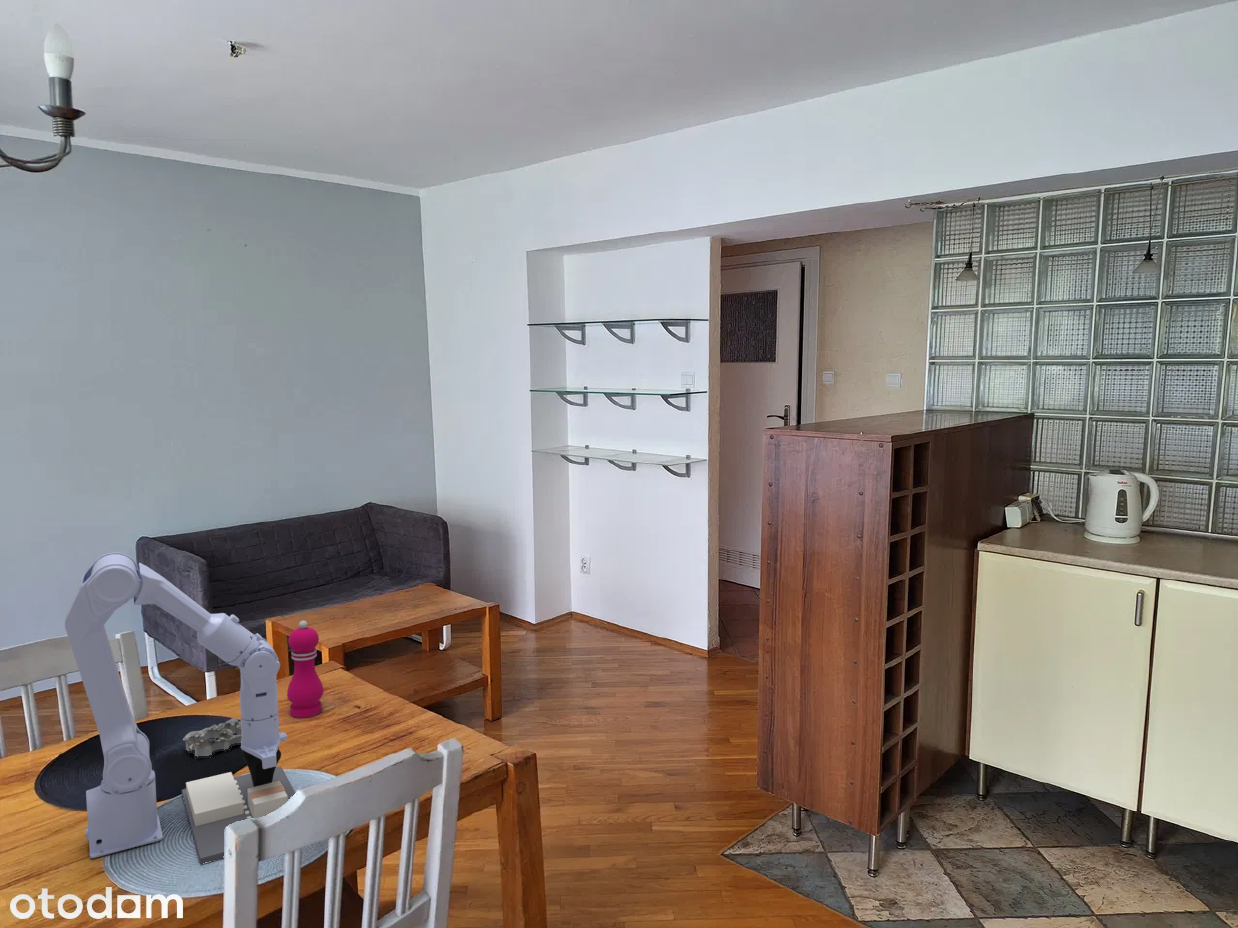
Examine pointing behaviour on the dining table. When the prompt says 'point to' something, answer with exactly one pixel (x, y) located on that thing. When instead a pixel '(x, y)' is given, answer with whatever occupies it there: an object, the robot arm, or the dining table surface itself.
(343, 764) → the dining table surface
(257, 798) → the stub
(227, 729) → the egg carton
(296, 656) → the pepper mill
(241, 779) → the mat
